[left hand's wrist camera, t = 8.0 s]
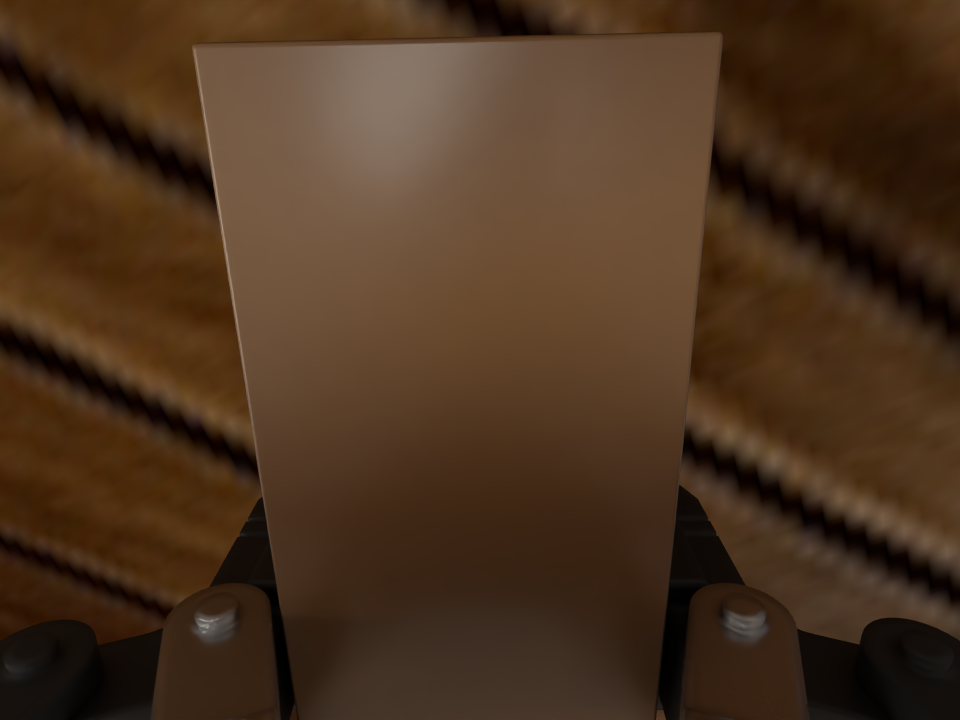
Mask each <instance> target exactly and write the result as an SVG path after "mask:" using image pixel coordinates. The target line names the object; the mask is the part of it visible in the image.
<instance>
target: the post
mask: <svg viewBox="0 0 960 720" xmlns="http://www.w3.org/2000/svg"><path fill="white" fill-rule="evenodd" d="M722 44H723V36H722V33H720V32H718V31H712V32H667V33H622V34H577V35H532V36H487V37H442V38H397V39H352V40H307V41H262V42H217V43H196V44H194V45H193V49H192V51H193V57H194V63H195V70H196V76H197V82H198V89H199V95H200V101H201V108H202V114H203V121H204V127H205V133H206V140H207V146H208V152H209V159H210V165H211V171H212V178H213V184H214V191H215V197H216V203H217V210H218V216H219V222H220V229H221V235H222V241H223V248H224V254H225V261H226V267H227V273H228V280H229V286H230V292H231V299H232V305H233V311H234V318H235V324H236V331H237V337H238V343H239V350H240V356H241V362H242V369H243V375H244V381H245V388H246V394H247V401H248V407H249V413H250V420H251V426H252V432H253V439H254V445H255V451H256V458H257V464H258V471H259V477H260V483H261V490H262V496H263V502H264V509H265V515H266V521H267V528H268V534H269V541H270V547H271V553H272V560H273V566H274V572H275V579H276V585H277V591H278V598H279V604H280V611H281V617H282V623H283V630H284V636H285V642H286V649H287V655H288V661H289V668H290V674H291V681H292V687H293V693H294V700H295V706H296V712H297V719H298V720H656V713H657V703H658V693H659V683H660V672H661V662H662V652H663V642H664V632H665V622H666V612H667V602H668V591H669V581H670V571H671V561H672V551H673V541H674V531H675V520H676V510H677V500H678V490H679V480H680V470H681V460H682V449H683V439H684V429H685V419H686V409H687V399H688V389H689V378H690V368H691V358H692V348H693V338H694V328H695V318H696V308H697V297H698V287H699V277H700V267H701V257H702V247H703V237H704V226H705V216H706V206H707V196H708V186H709V176H710V166H711V155H712V145H713V135H714V125H715V115H716V105H717V95H718V84H719V74H720V64H721V54H722Z"/></svg>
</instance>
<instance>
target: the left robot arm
mask: <svg viewBox="0 0 960 720" xmlns="http://www.w3.org/2000/svg"><path fill="white" fill-rule="evenodd" d="M657 710H664V714H665V717H666V720H960V641H959V640H957V639H956V638H954V637H952V636H951V635H949V634H947V633H945V632H943V631H941V630H939V629H937V628H935V627H932V626H930V625H927V624H924V623H921V622H918V621H914V620H909V619H903V618H883V619H878V620H875V621H873V622H871V623H869V624H868V625H867V626H866V627H865V628H864V631H863V633H862V637H861V641H860V644H859V645H858V644H854V643H850V642H846V641H841V640H837V639H833V638H828V637H824V636H820V635H815V634H812V633H808V632H804V631H802V630H799V629H797V627H796V623H795V621H794V619H793V617H792V615H791V614H790V613H789V611H788V610H787V609H786V608H785V607H784V606H783V605H782V604H781V603H779V602H778V601H777V600H776V599H774V598H773V597H771V596H769V595H768V594H766V593H764V592H762V591H759V590H757V589H754V588H751V587H748V586H746V585H745V584H744V582H743V580H742V578H741V576H740V575H739V573H738V571H737V569H736V567H735V566H734V564H733V562H732V560H731V558H730V556H729V555H728V553H727V551H726V549H725V547H724V546H723V544H722V542H721V540H720V538H719V537H718V536H716V531H715V529H714V528H713V526H712V524H711V522H710V521H708V517H707V515H706V513H705V511H704V510H703V508H702V506H701V504H700V502H699V500H698V499H697V498H696V497H694V496H693V495H692V494H690V493H689V492H688V491H687V490H685V489H684V488H683V487H682V486H680V485H679V490H678V500H677V510H676V520H675V531H674V541H673V551H672V561H671V571H670V581H669V591H668V602H667V612H666V622H665V632H664V642H663V652H662V662H661V672H660V683H659V693H658V703H657ZM292 711H296V706H295V700H294V693H293V687H292V681H291V674H290V668H289V661H288V655H287V649H286V642H285V636H284V630H283V623H282V617H281V611H280V604H279V598H278V591H277V585H276V579H275V572H274V566H273V560H272V553H271V547H270V541H269V534H268V528H267V521H266V515H265V509H264V502H263V497H262V498H260V499H259V500H258V502H257V503H256V505H255V507H254V509H253V511H252V512H251V514H250V516H249V518H248V522H246V523H245V525H244V527H243V528H242V530H241V532H240V537H237V539H236V541H235V543H234V544H233V546H232V548H231V550H230V551H229V553H228V555H227V557H226V559H225V560H224V562H223V564H222V566H221V567H220V569H219V571H218V573H217V575H216V576H215V578H214V580H213V582H212V583H211V585H210V587H209V588H206V589H203V590H201V591H198V592H196V593H194V594H192V595H191V596H189V597H187V598H186V599H184V600H183V601H182V602H181V603H179V604H178V605H177V606H176V607H175V608H174V609H173V610H172V611H171V613H170V614H169V615H168V617H167V619H166V621H165V623H164V627H163V628H162V629H159V630H156V631H154V632H151V633H147V634H144V635H140V636H136V637H131V638H127V639H123V640H118V641H114V642H110V643H105V644H101V645H98V644H97V640H96V636H95V633H94V631H93V630H92V628H91V627H90V626H88V625H87V624H85V623H83V622H80V621H75V620H55V621H48V622H44V623H40V624H37V625H33V626H30V627H28V628H25V629H23V630H20V631H18V632H16V633H14V634H12V635H10V636H8V637H7V638H5V639H3V640H2V641H0V720H289V719H290V716H291V713H292Z"/></svg>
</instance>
